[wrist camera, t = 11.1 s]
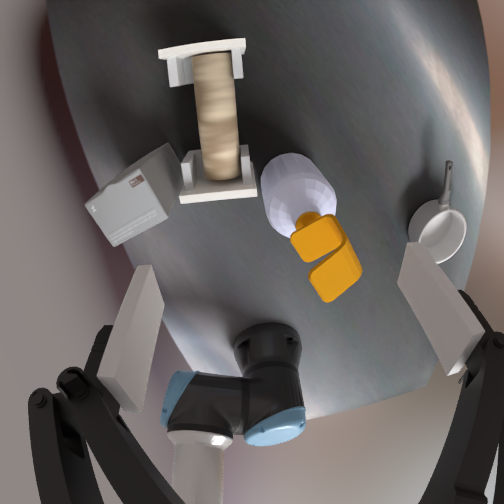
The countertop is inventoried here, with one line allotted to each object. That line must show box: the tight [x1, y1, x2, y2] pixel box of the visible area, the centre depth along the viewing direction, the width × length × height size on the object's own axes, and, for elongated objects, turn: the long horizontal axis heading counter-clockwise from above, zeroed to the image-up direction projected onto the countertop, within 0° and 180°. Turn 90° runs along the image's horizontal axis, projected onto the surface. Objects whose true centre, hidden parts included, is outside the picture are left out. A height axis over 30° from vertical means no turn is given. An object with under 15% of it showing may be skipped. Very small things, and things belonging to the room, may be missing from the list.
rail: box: [191, 53, 241, 180], centre depth 33 cm, size 15×5×5 cm
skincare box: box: [85, 143, 184, 247], centre depth 36 cm, size 8×7×16 cm
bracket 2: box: [179, 145, 257, 204], centre depth 38 cm, size 4×9×11 cm, turn 94°
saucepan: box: [408, 161, 466, 264], centre depth 46 cm, size 12×20×6 cm, turn 12°
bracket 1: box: [158, 38, 246, 87], centre depth 30 cm, size 4×9×11 cm, turn 94°
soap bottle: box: [261, 153, 362, 303], centre depth 35 cm, size 9×9×25 cm
